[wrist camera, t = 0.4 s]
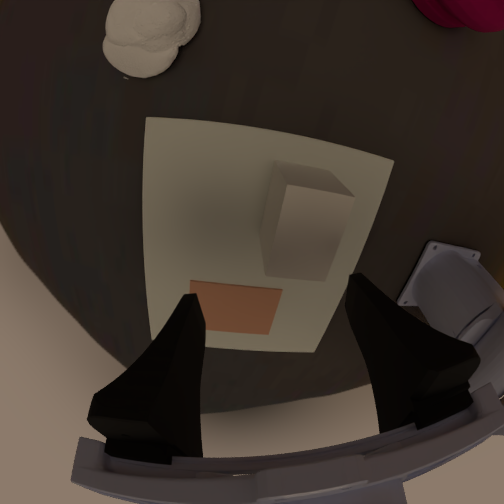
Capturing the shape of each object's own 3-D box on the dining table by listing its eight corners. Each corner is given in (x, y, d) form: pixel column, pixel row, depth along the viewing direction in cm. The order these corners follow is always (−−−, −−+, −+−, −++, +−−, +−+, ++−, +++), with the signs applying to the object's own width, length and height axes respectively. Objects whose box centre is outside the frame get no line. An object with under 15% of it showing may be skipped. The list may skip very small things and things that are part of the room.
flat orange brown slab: (282, 289, 25) (282, 290, 25) (268, 333, 28) (268, 334, 28) (190, 279, 24) (190, 281, 23) (188, 326, 27) (188, 328, 27)
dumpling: (146, -14, 11) (127, -32, 8) (217, 0, 12) (212, -19, 9) (108, 73, 14) (80, 73, 11) (175, 89, 16) (159, 90, 12)
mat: (392, 159, 19) (394, 161, 19) (313, 350, 31) (314, 352, 30) (147, 116, 16) (146, 117, 16) (152, 337, 28) (151, 339, 28)
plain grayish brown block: (329, 170, 19) (355, 197, 15) (308, 241, 22) (325, 281, 18) (274, 159, 18) (287, 184, 14) (259, 235, 22) (265, 276, 18)
